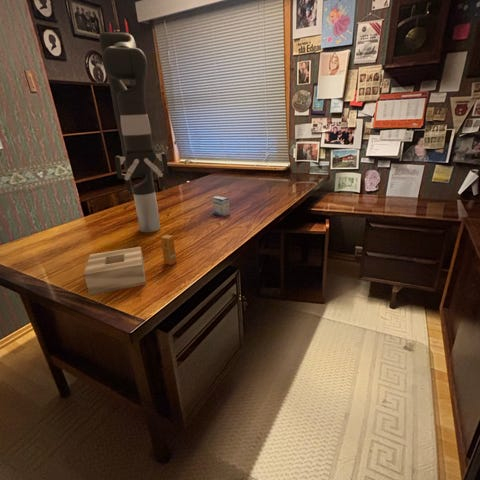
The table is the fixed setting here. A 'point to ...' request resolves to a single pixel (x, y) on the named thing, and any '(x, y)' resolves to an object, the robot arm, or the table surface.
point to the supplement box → (168, 249)
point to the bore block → (114, 270)
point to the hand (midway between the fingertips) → (146, 190)
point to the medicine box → (220, 205)
